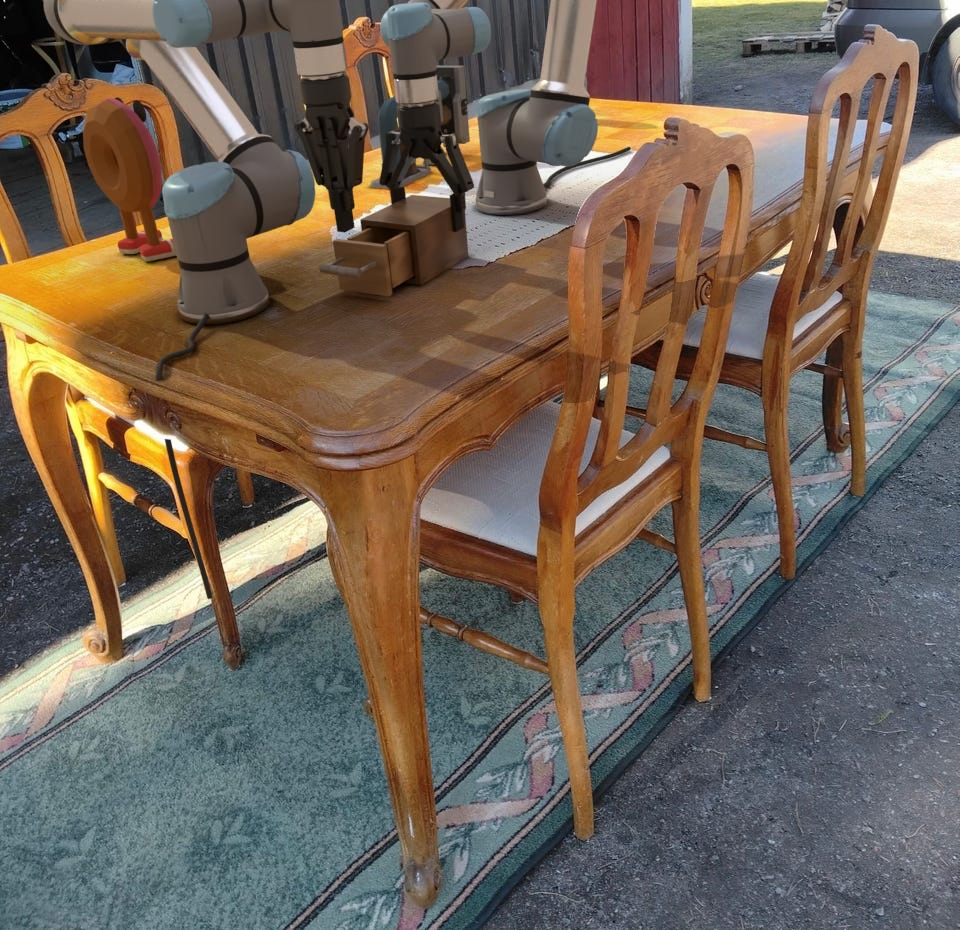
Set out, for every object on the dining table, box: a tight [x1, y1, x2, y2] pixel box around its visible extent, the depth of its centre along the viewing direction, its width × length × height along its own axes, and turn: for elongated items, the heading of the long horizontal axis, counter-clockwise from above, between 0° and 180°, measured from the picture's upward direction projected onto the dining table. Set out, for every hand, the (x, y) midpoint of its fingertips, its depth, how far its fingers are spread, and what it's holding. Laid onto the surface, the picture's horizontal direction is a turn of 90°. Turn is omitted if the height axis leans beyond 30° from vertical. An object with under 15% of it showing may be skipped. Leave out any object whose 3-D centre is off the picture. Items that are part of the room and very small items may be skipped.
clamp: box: [369, 65, 471, 190], centre depth 235 cm, size 35×9×21 cm, turn 151°
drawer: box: [319, 226, 415, 298], centre depth 166 cm, size 21×10×9 cm, turn 150°
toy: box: [82, 96, 177, 262], centre depth 190 cm, size 21×10×30 cm, turn 47°
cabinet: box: [359, 194, 469, 286], centre depth 175 cm, size 16×12×11 cm
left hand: (346, 229), depth 157 cm, fingers closed
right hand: (430, 226), depth 178 cm, fingers closed on cabinet, 11 cm apart
